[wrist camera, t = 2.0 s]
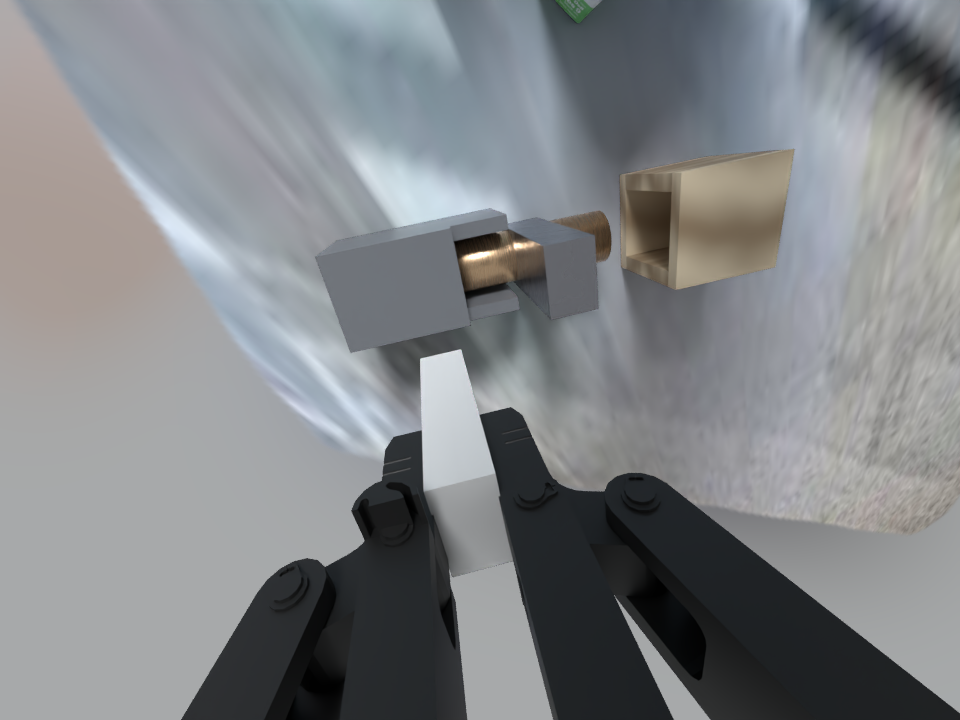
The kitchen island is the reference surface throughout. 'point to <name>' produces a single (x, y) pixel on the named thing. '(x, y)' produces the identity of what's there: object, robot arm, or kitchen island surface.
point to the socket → (704, 217)
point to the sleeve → (409, 281)
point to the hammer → (541, 261)
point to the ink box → (578, 8)
